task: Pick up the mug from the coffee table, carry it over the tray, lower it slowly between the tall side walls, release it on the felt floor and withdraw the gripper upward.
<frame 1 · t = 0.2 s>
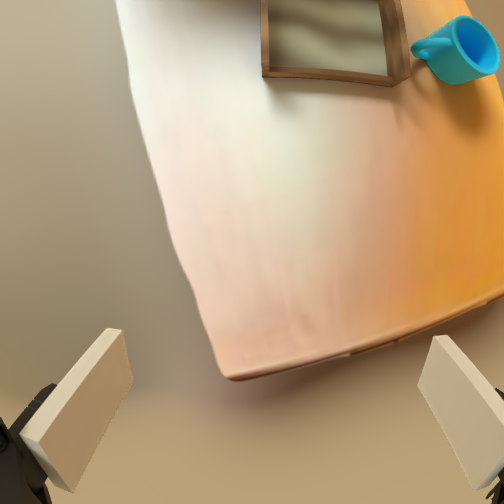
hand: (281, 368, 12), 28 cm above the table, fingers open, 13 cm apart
mug: (435, 58, 31), on the table
tray: (326, 28, 31), on the table
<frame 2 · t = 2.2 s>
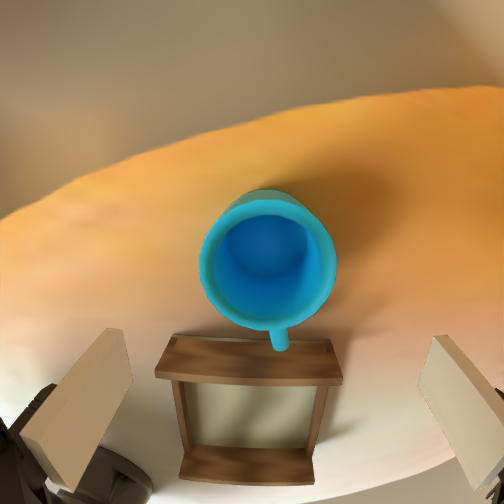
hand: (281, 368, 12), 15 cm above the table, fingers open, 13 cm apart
mug: (270, 259, 27), on the table
tray: (249, 402, 31), on the table
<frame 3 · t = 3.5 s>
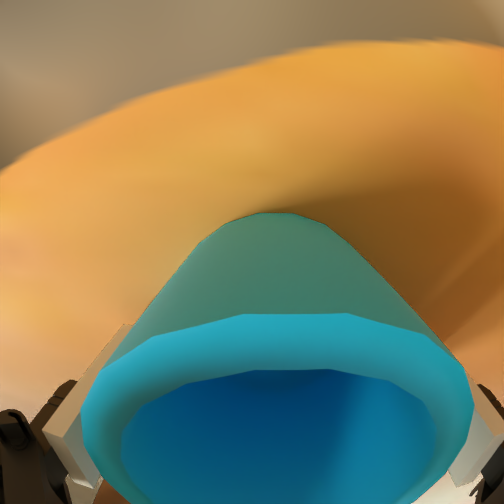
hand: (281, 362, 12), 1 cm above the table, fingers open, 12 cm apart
mug: (279, 347, 13), on the table
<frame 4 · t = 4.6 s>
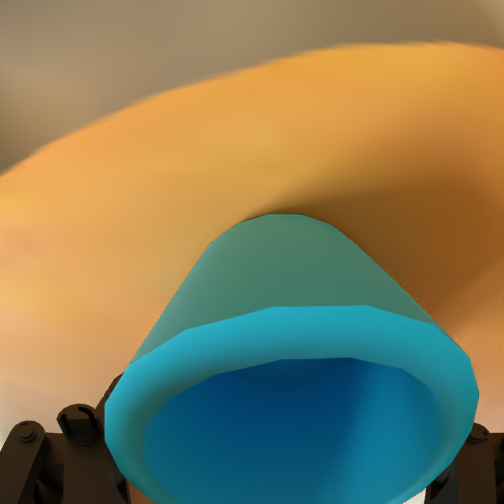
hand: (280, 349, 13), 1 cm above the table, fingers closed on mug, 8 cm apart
mug: (287, 345, 14), on the table, touching gripper
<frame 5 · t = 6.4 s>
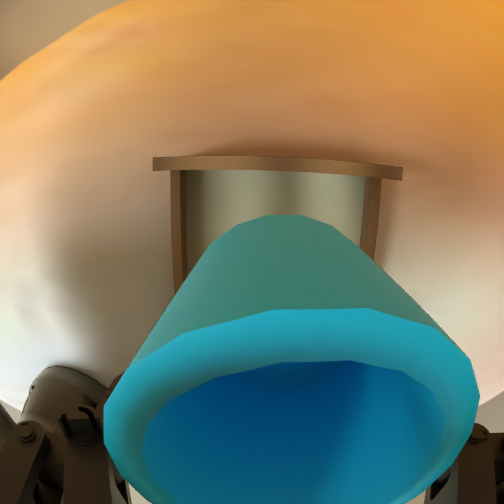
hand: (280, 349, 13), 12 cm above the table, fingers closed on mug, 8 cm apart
mug: (287, 346, 14), point 12 cm above the table, touching gripper
tray: (272, 264, 25), on the table
when the fingers open (2 cm above the table, at t = 8.2 s): mug stays where it is, resting on tray.
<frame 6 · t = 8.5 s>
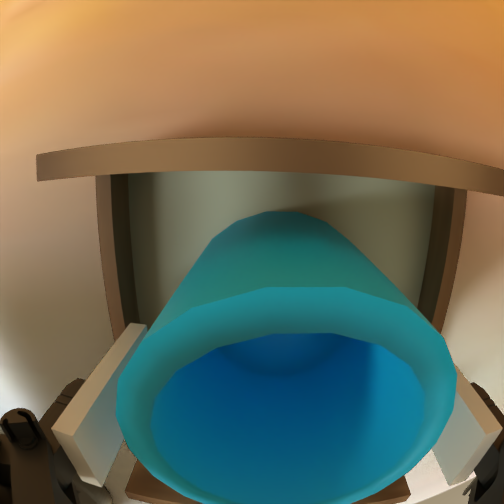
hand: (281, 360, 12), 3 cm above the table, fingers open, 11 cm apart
mug: (284, 336, 15), resting on tray
tray: (279, 329, 15), on the table
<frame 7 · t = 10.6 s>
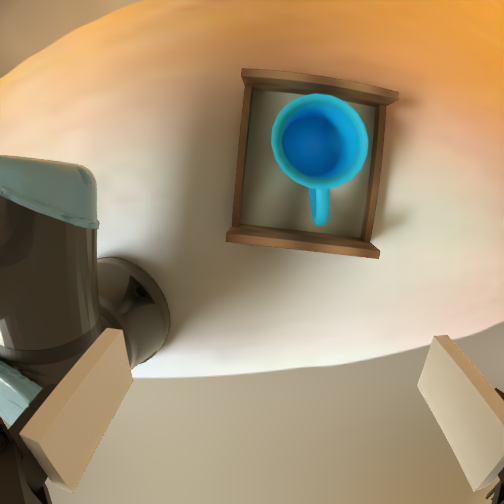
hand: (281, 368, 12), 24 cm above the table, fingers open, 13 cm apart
mug: (311, 164, 33), resting on tray
tray: (309, 162, 33), on the table
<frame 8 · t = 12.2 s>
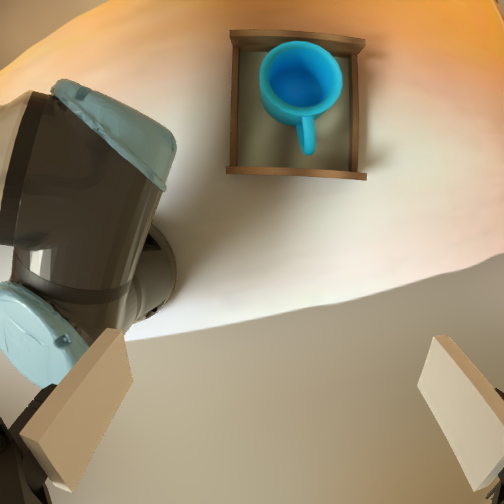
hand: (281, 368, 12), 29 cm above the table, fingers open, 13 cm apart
mug: (296, 109, 35), resting on tray
tray: (294, 108, 35), on the table
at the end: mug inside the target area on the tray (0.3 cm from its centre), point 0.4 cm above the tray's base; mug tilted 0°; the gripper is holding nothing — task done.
